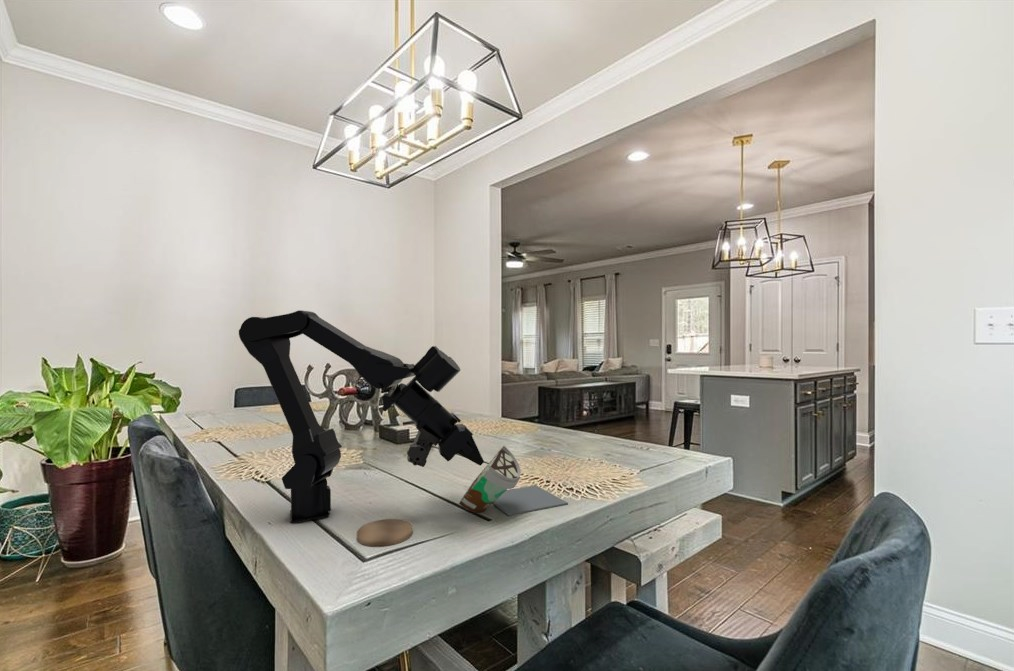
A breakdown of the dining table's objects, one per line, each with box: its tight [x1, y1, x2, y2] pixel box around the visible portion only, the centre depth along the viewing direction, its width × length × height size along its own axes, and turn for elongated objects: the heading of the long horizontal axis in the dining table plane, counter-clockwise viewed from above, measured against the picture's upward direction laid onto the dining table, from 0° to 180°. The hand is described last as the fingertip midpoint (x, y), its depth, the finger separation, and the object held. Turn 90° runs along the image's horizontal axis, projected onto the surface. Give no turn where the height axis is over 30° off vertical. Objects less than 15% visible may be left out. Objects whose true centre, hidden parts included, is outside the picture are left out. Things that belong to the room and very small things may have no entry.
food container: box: [458, 445, 522, 514], centre depth 89 cm, size 12×6×10 cm
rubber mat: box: [492, 484, 569, 517], centre depth 95 cm, size 13×13×1 cm
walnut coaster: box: [356, 518, 413, 547], centre depth 79 cm, size 9×9×1 cm
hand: (481, 463), depth 90 cm, fingers closed
